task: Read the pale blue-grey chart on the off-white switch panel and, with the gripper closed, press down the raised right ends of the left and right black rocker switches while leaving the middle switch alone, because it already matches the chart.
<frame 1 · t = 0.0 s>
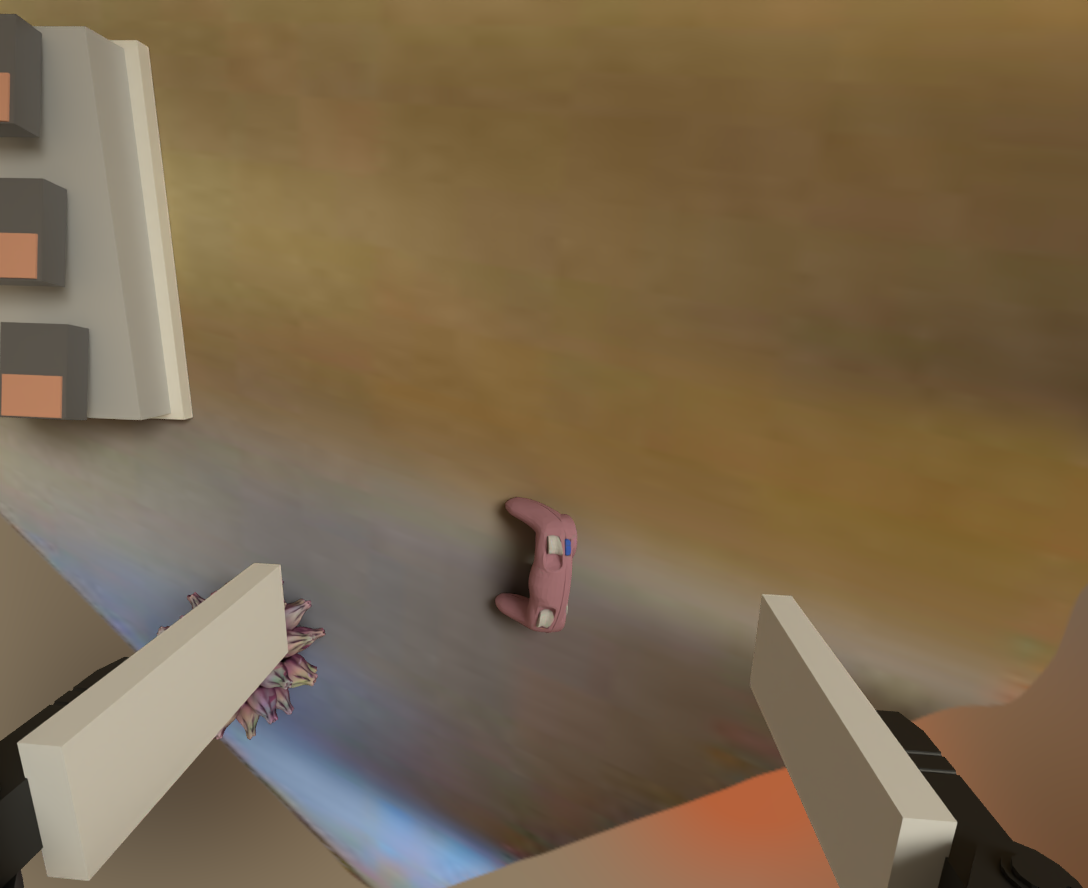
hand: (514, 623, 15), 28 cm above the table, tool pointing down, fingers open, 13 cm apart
middle switch: (18, 232, 36), point 6 cm above the table, hinge at -12.0°
flower: (283, 612, 48), on the table
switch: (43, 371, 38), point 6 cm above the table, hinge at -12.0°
switch panel: (46, 242, 42), on the table
video game controller: (537, 551, 45), on the table
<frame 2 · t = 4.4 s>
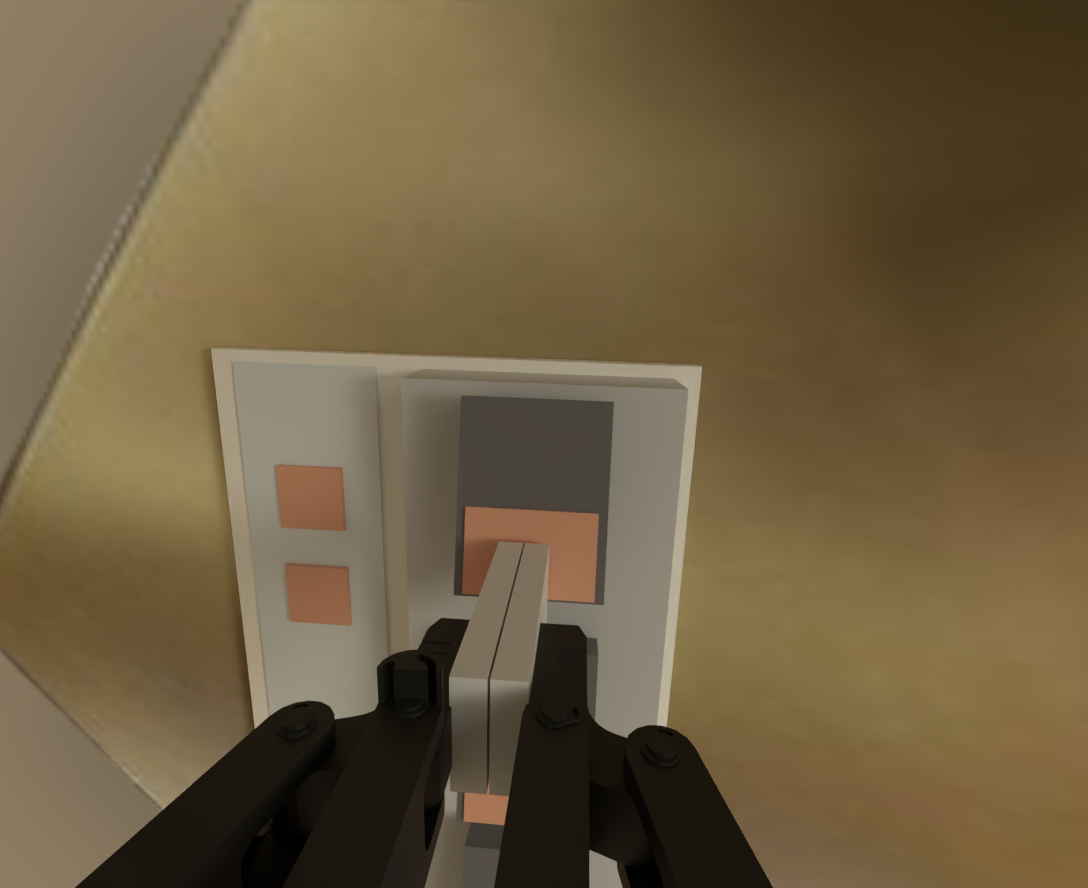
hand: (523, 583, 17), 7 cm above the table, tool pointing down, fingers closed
middle switch: (528, 728, 20), point 6 cm above the table, hinge at -12.0°
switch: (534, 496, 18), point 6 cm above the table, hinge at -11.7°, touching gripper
switch panel: (457, 630, 26), on the table
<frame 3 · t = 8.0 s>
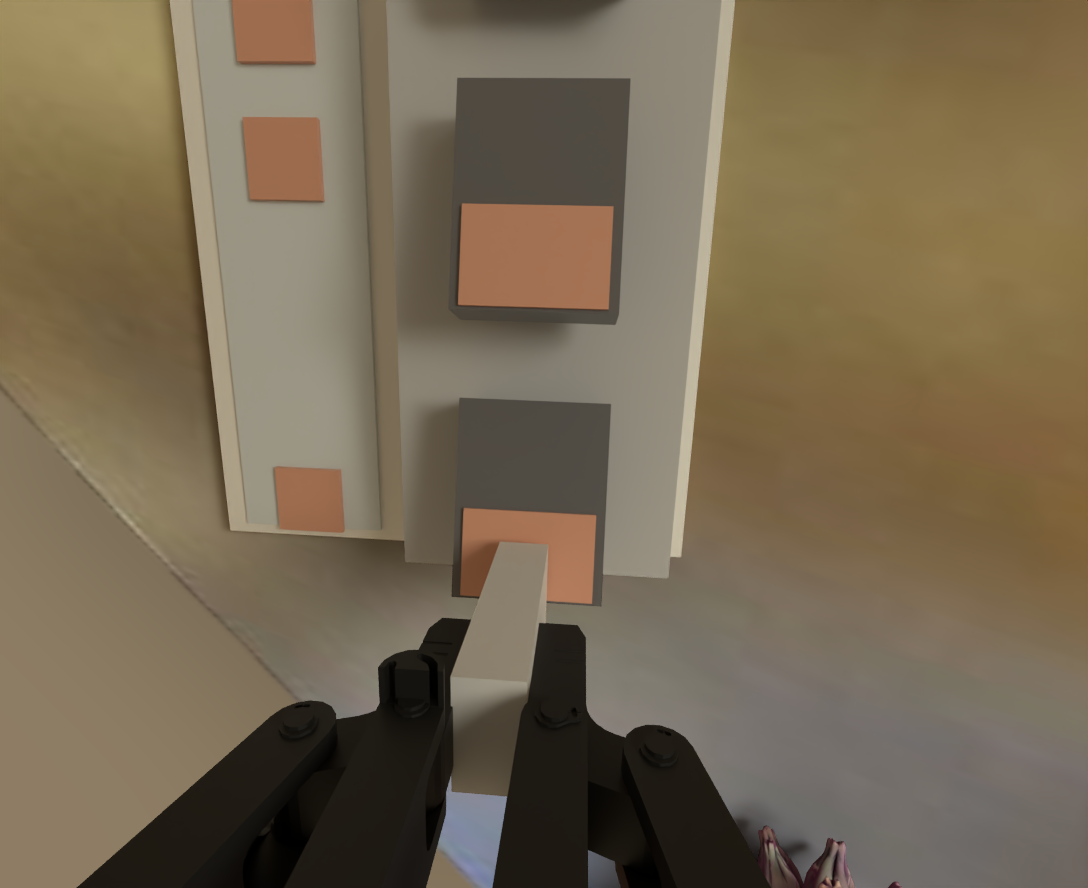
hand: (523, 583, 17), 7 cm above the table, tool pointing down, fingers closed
middle switch: (539, 206, 16), point 6 cm above the table, hinge at -12.0°
flower: (765, 857, 28), on the table
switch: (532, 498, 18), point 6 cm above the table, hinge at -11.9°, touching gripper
switch panel: (451, 230, 22), on the table
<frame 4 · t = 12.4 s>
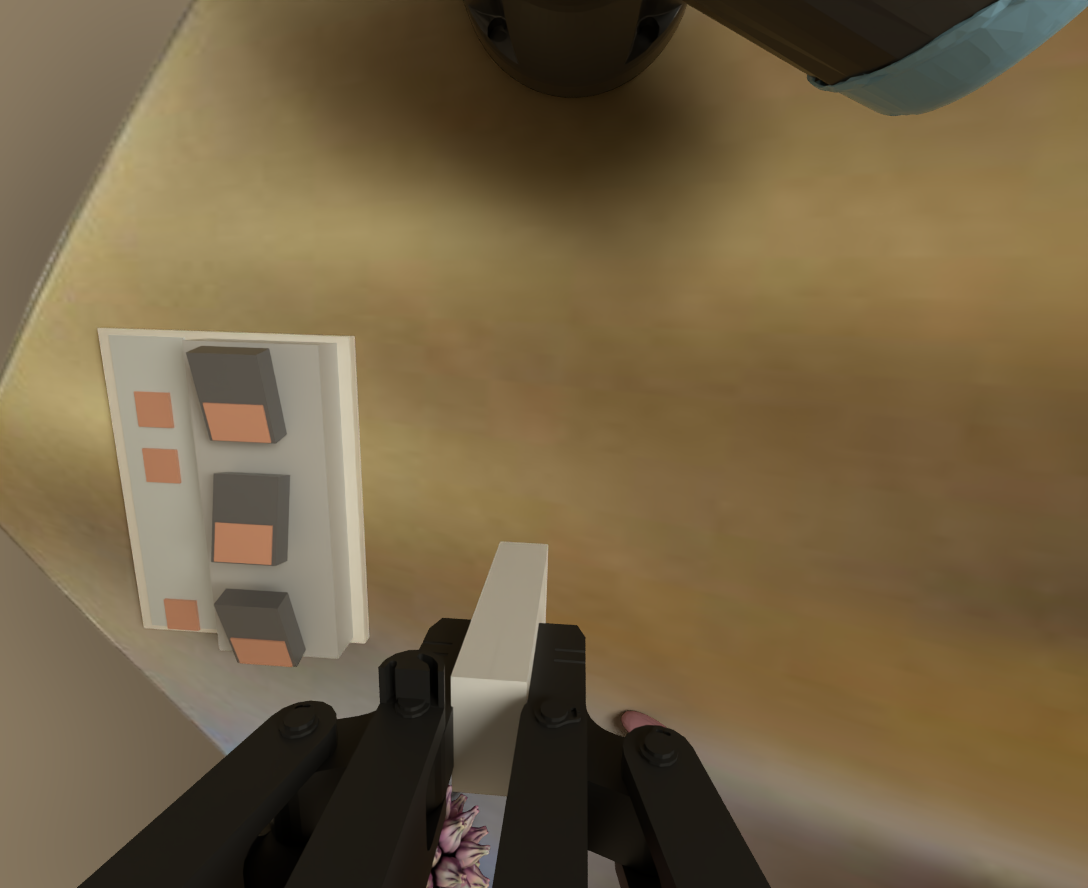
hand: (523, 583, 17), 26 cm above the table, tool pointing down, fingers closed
middle switch: (250, 518, 40), point 6 cm above the table, hinge at -12.0°
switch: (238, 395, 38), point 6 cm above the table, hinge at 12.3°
flower: (439, 799, 52), on the table
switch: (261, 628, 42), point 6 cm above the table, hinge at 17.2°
switch panel: (245, 490, 46), on the table
video game controller: (647, 753, 50), on the table
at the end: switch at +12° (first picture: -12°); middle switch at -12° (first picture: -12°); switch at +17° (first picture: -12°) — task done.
